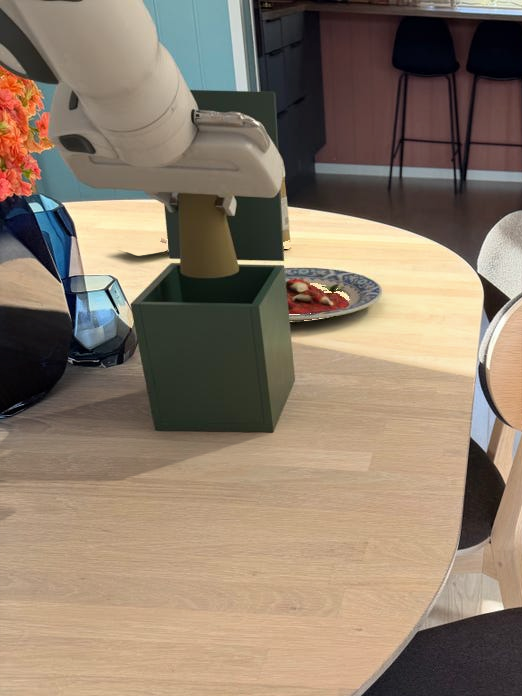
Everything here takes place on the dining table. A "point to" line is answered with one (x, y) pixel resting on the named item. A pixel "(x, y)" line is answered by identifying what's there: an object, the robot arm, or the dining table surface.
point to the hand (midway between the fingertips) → (203, 208)
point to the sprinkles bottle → (284, 211)
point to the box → (216, 349)
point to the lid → (251, 212)
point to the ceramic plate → (327, 304)
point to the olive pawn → (204, 238)
